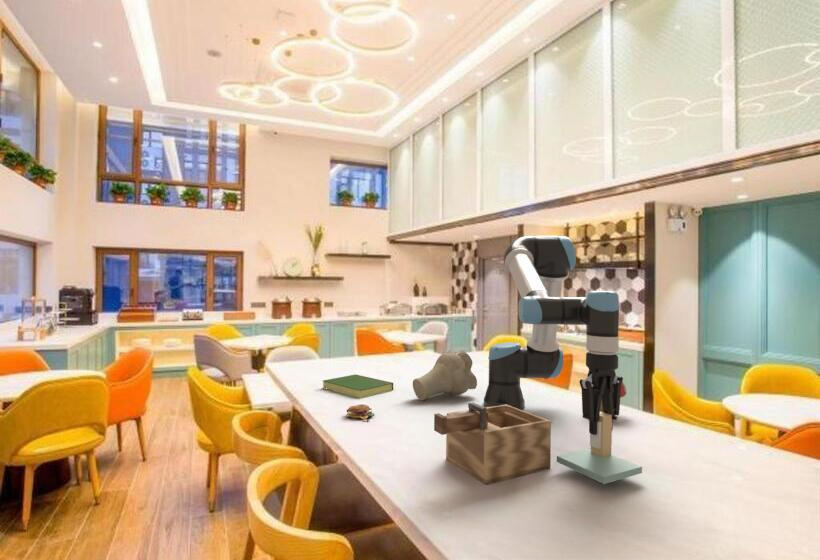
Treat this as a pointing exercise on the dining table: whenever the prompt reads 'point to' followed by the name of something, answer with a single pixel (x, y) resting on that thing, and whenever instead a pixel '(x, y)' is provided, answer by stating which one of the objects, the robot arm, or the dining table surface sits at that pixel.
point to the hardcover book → (358, 385)
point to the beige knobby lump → (447, 376)
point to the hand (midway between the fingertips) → (600, 445)
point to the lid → (600, 458)
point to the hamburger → (360, 412)
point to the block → (457, 422)
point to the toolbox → (501, 444)
